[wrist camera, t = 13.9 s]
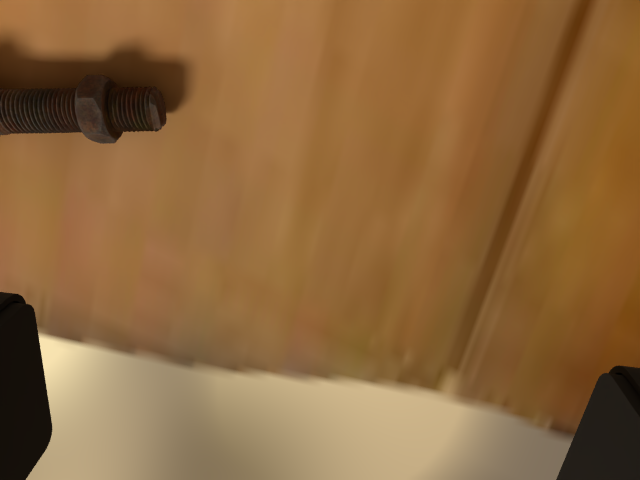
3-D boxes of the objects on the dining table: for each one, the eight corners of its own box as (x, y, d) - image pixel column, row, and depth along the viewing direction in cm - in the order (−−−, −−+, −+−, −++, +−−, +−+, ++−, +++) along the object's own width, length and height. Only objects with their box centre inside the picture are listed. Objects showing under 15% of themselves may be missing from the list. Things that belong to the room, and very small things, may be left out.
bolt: (176, 109, 42) (-6, 112, 43) (159, 55, 38) (-43, 59, 39) (163, 161, 39) (-35, 164, 39) (143, 108, 35) (-78, 112, 35)
